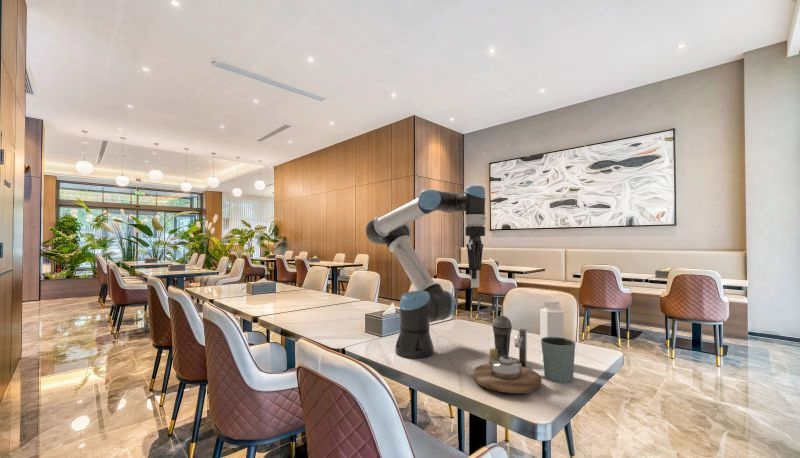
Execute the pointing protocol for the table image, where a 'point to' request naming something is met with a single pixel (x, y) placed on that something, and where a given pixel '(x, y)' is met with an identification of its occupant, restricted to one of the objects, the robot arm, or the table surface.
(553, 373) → the grey-green tumbler
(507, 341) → the beverage cup
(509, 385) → the turntable
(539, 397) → the table surface
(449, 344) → the table surface
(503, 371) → the cover
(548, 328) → the milk
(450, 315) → the robot arm
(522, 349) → the dial gauge
